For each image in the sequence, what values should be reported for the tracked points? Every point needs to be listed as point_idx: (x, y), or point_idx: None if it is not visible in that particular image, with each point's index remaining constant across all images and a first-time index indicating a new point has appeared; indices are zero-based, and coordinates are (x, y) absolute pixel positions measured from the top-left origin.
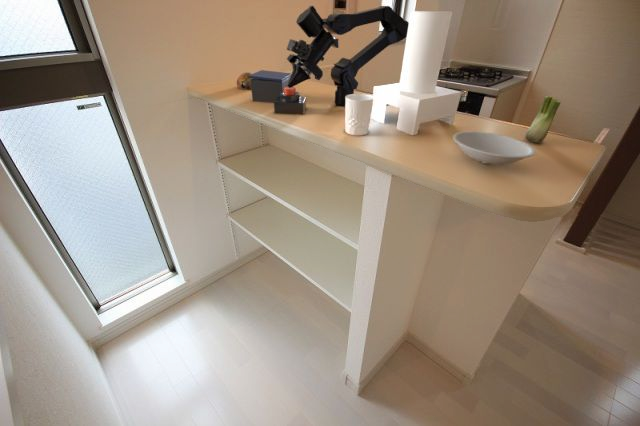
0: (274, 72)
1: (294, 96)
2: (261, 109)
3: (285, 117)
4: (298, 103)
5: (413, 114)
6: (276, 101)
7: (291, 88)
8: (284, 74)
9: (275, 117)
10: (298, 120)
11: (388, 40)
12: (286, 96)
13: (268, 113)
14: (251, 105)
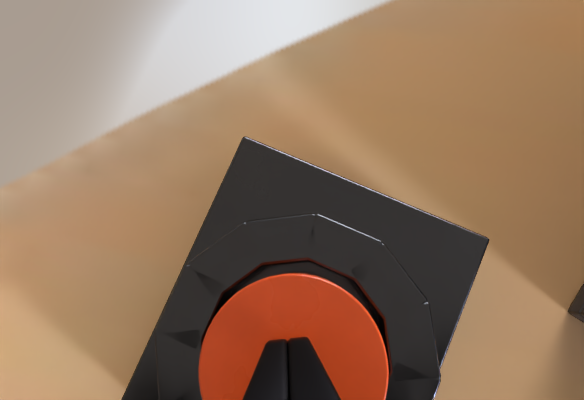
0: None
1: (160, 379)
2: (422, 78)
3: (128, 230)
4: (125, 394)
5: None
6: (247, 165)
7: None
8: None
9: (156, 150)
10: (12, 317)
11: None
12: (182, 273)
13: (284, 115)
14: (576, 13)
